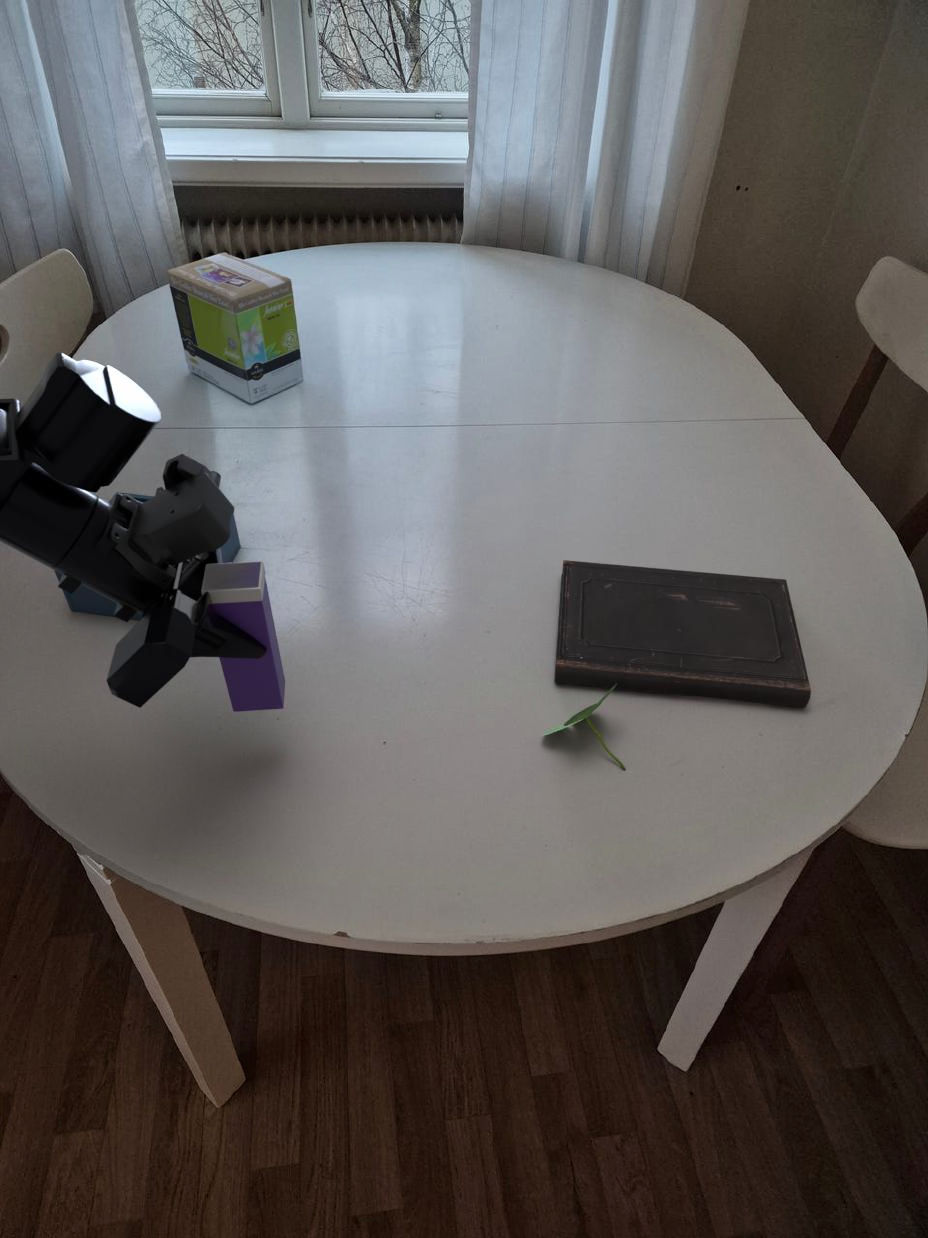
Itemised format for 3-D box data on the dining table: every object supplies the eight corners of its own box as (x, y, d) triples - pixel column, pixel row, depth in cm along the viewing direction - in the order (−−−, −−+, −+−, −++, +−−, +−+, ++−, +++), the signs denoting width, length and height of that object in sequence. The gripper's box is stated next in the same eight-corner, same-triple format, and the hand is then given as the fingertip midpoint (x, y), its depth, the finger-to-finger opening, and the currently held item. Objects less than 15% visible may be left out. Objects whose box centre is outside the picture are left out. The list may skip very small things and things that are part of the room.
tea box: (307, 380, 123) (293, 277, 113) (250, 406, 118) (231, 300, 107) (241, 347, 130) (224, 248, 120) (185, 371, 125) (162, 268, 115)
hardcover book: (561, 576, 92) (563, 559, 91) (780, 595, 90) (786, 579, 89) (553, 686, 81) (556, 669, 79) (804, 711, 79) (812, 694, 77)
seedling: (588, 785, 79) (548, 724, 79) (662, 740, 76) (621, 678, 77) (575, 806, 72) (532, 740, 72) (656, 757, 70) (611, 689, 70)
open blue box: (70, 610, 88) (53, 568, 84) (129, 532, 97) (116, 491, 93) (192, 627, 86) (180, 585, 82) (241, 546, 95) (232, 505, 92)
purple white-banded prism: (232, 712, 69) (200, 591, 60) (236, 684, 71) (205, 563, 62) (284, 709, 69) (260, 588, 60) (286, 681, 72) (263, 560, 63)
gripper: (111, 546, 47) (332, 671, 56) (162, 382, 61) (334, 502, 69) (12, 656, 52) (229, 755, 61) (80, 480, 66) (250, 582, 74)
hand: (265, 638), depth 66 cm, fingers closed on purple white-banded prism, 3 cm apart
